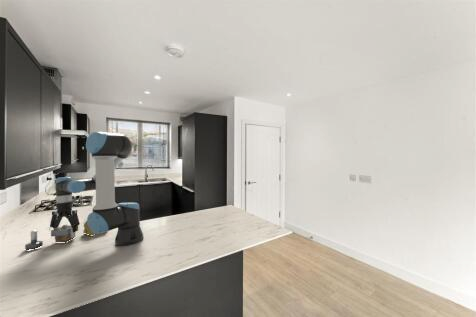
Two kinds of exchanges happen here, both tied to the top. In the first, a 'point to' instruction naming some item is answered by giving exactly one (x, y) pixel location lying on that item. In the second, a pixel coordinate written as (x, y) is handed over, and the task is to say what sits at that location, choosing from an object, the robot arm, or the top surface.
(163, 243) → the top surface
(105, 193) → the robot arm
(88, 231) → the cheese
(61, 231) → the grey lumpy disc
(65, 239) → the stand
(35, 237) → the hub
